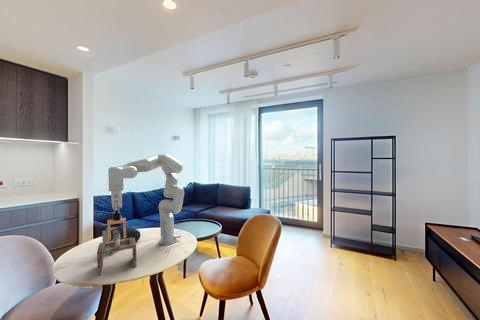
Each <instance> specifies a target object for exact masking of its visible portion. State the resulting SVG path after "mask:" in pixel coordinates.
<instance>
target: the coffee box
mask: <svg viewBox="0 0 480 320" xmlns="http://www.w3.org/2000/svg"><path fill="white" fill-rule="evenodd" d="M101 231H102V233H101V234H102V235H101V236H102V242H101V243H103V242H109V241H115V240H120V227H118V226H111V240H109V241H108V234H107V228H106V229H102V230H101ZM112 247H115V245H110V246H105V249H106V248H112ZM117 252H119V251H115V252H110V253H104V254H103V256H112V255H114V254H116V253H117Z"/></svg>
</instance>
